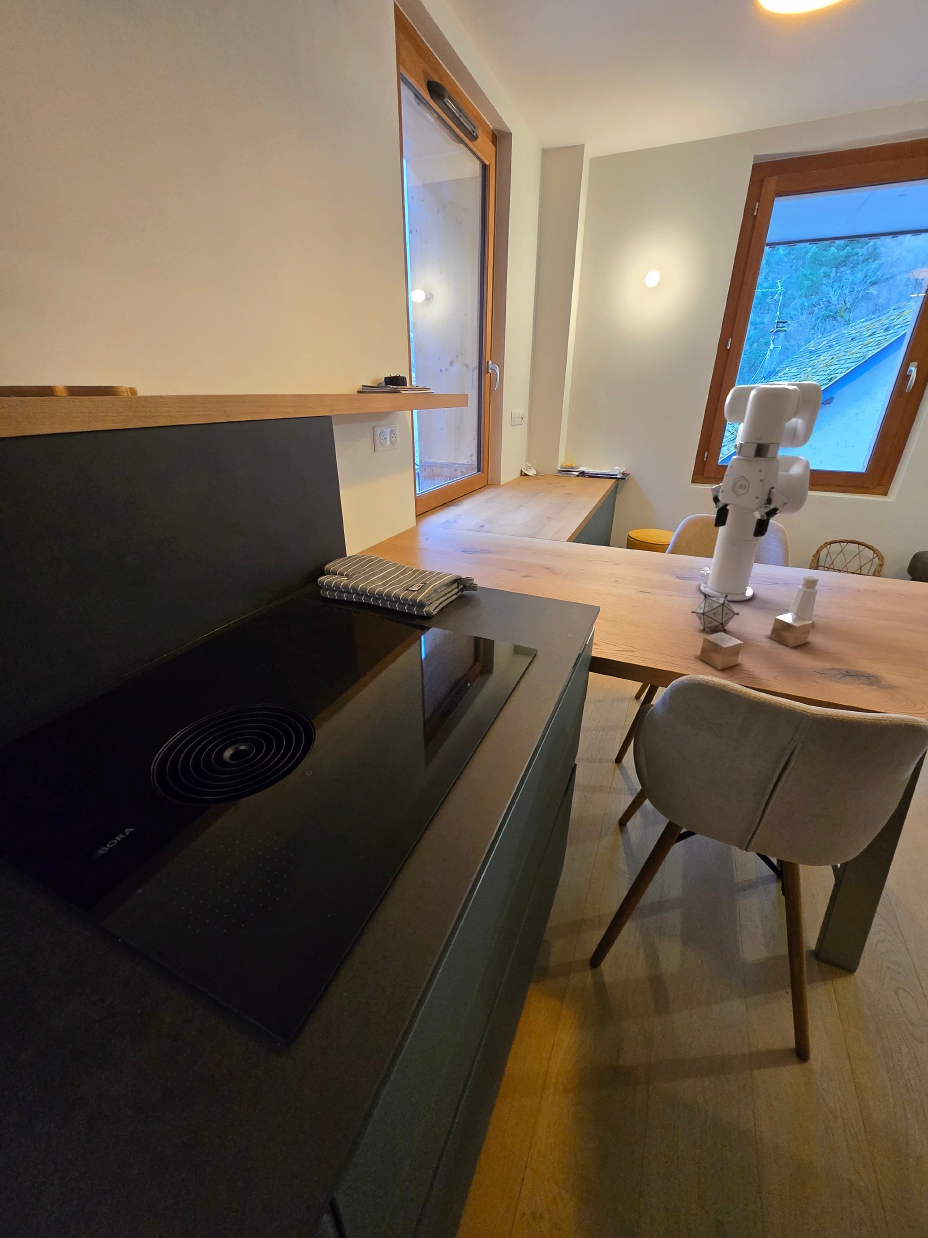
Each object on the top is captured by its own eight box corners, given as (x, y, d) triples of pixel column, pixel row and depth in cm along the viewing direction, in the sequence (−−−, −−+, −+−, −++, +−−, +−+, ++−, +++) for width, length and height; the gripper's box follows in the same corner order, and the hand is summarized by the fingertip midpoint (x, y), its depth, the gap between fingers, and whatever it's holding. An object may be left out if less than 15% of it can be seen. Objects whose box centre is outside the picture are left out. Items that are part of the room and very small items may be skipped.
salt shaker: (803, 629, 112) (818, 584, 107) (779, 620, 116) (792, 576, 111) (816, 623, 114) (830, 578, 110) (791, 614, 119) (804, 571, 114)
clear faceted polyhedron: (714, 646, 113) (735, 627, 104) (680, 627, 115) (697, 606, 106) (731, 618, 116) (752, 597, 107) (697, 600, 118) (714, 578, 109)
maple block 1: (698, 658, 101) (703, 636, 99) (716, 652, 103) (721, 631, 101) (719, 669, 97) (724, 647, 95) (737, 664, 99) (743, 642, 96)
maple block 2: (769, 637, 108) (775, 617, 106) (784, 633, 110) (790, 612, 108) (790, 647, 104) (797, 626, 102) (806, 642, 106) (813, 621, 104)
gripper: (710, 448, 109) (694, 524, 116) (786, 456, 95) (764, 542, 102) (732, 446, 112) (716, 521, 119) (810, 454, 98) (786, 538, 105)
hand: (738, 531), depth 110 cm, fingers open, 9 cm apart
